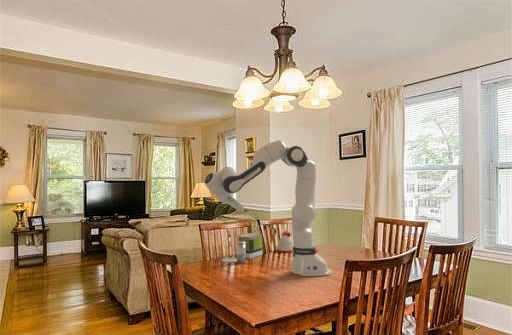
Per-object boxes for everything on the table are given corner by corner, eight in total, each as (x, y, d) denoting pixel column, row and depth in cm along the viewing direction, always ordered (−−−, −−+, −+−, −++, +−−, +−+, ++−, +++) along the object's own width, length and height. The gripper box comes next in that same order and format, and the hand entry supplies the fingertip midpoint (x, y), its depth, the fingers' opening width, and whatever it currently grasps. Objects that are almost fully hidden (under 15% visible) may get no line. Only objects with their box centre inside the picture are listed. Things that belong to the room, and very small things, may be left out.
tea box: (251, 253, 245) (251, 232, 246) (262, 255, 239) (262, 233, 240) (237, 257, 233) (237, 235, 234) (249, 259, 227) (249, 236, 228)
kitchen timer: (290, 253, 244) (289, 232, 245) (273, 251, 251) (273, 231, 252) (298, 250, 256) (298, 230, 256) (282, 248, 263) (282, 228, 264)
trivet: (239, 258, 228) (239, 257, 228) (237, 262, 217) (237, 261, 218) (223, 258, 229) (223, 257, 229) (220, 262, 218) (220, 261, 218)
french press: (242, 264, 214) (242, 238, 214) (234, 263, 217) (234, 238, 217) (249, 261, 221) (249, 236, 221) (241, 260, 224) (241, 236, 224)
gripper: (237, 196, 191) (251, 211, 199) (221, 186, 208) (234, 199, 215) (229, 204, 190) (243, 219, 197) (214, 193, 207) (228, 207, 214)
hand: (239, 209), depth 206 cm, fingers open, 8 cm apart
